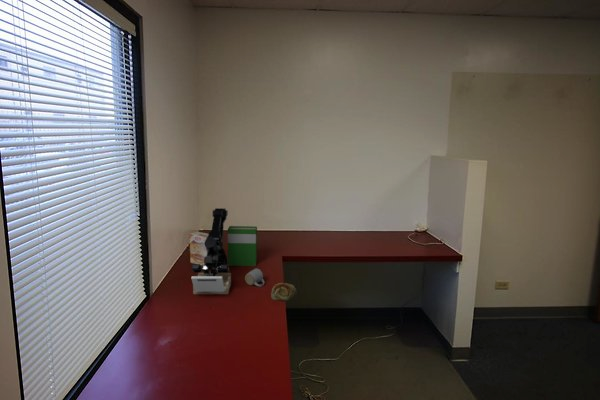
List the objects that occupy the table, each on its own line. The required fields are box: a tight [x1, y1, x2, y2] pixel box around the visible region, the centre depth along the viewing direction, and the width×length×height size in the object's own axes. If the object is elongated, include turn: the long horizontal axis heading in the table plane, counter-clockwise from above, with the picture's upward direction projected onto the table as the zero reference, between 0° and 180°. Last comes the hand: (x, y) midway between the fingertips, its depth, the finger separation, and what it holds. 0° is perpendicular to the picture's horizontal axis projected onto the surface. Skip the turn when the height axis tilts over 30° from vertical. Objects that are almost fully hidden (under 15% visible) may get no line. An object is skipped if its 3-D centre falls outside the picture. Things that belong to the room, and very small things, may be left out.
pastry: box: [270, 282, 297, 302], centre depth 191 cm, size 14×12×8 cm
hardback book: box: [227, 225, 258, 267], centre depth 234 cm, size 18×7×24 cm, turn 91°
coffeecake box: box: [189, 231, 209, 266], centre depth 233 cm, size 15×7×20 cm, turn 62°
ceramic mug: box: [244, 268, 265, 288], centre depth 205 cm, size 11×8×8 cm
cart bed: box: [192, 272, 232, 295], centre depth 198 cm, size 13×18×6 cm
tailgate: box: [191, 275, 225, 292], centre depth 185 cm, size 2×15×13 cm
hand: (208, 284), depth 186 cm, fingers closed, pressing on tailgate
